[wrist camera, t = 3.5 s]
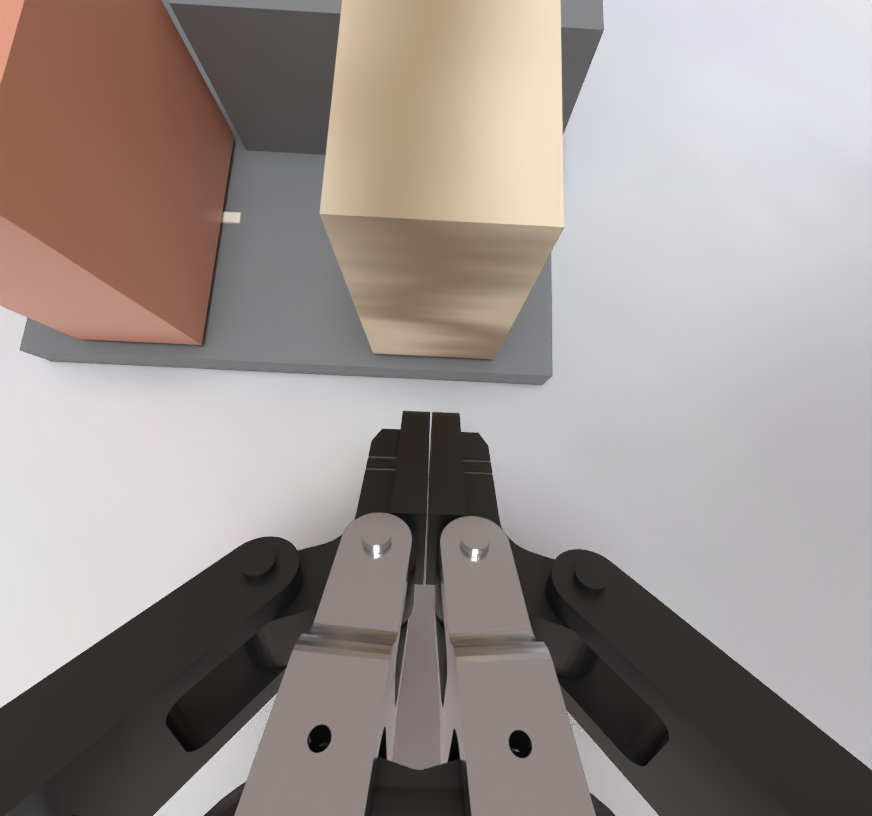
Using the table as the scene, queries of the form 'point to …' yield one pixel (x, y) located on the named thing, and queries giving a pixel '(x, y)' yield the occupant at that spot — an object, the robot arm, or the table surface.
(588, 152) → the table surface
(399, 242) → the ash plug
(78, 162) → the terracotta plug
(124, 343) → the grey slotted tray
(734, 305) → the table surface
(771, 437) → the table surface
